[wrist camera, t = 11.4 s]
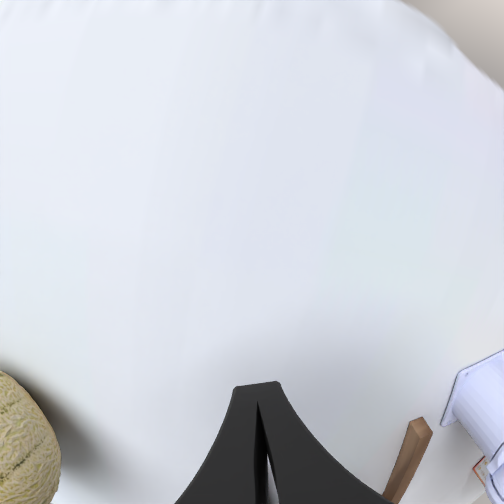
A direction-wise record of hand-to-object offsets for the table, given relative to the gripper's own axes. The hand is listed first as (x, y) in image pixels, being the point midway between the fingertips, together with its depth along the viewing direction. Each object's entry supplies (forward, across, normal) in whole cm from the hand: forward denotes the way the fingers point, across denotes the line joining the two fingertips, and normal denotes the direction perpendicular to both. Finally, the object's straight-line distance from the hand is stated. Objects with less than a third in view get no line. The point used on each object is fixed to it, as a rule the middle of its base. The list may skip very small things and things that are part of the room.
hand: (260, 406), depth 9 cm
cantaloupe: (+10, +24, +9) cm, 28 cm away
